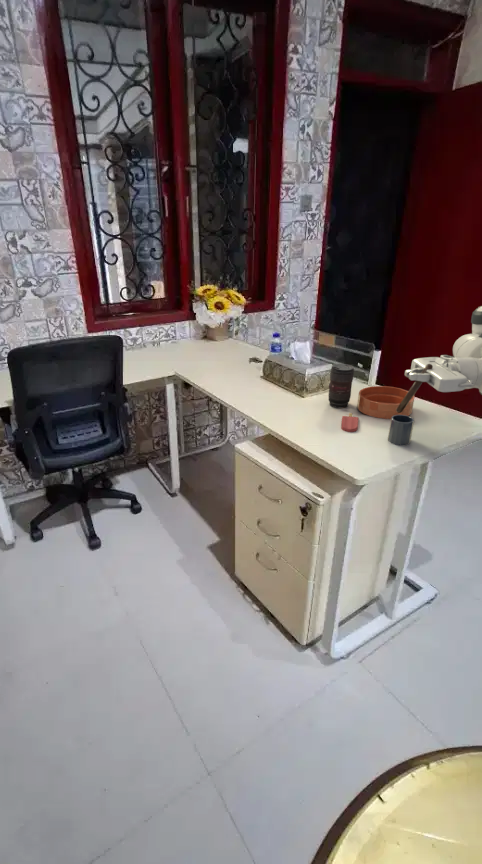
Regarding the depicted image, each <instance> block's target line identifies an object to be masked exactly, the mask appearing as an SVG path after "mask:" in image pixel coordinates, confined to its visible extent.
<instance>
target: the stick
mask: <svg viewBox="0 0 482 864" xmlns="http://www.w3.org/2000/svg"><path fill="white" fill-rule="evenodd" d="M432 368H433V366H432V365H431V364H427V365H426V366H425V368H424V369H423V371H422V372H421V374H424V373H428V372H426V371H427V370H429V369H432ZM422 384H423V382H422V381H417V380H414V382H413V384H412V385H411V387H410V388H409V389H408V390H407V391H408V393H407V394H406V396H405V397H404V398H403V400H402V401H401V403H400V404H399V406H398V407H397V409H396V411H397V412H398V413H401V412H402V411H403V410H404V408H405V407H406V406H407V404H408V403H409V401H410V400H411V398H412V397H413V395H414V396H415V394H416V393H417V391H418V390H419V388H420V387H421V385H422Z"/></svg>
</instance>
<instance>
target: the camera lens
mask: <svg viewBox="0 0 482 864" xmlns="http://www.w3.org/2000/svg"><path fill="white" fill-rule="evenodd" d="M354 374H355V369H354V366H353V365H351V364H347V363H334V364H332V365H331V369H330V374H329V383H328V388H329V389H328V402H329V403H328V404H329V406H330V407H333V408H336V409H343V408H347V407H348V406H349V403H350V401H351V396H352V388H353V387H352V386H353V380H354Z"/></svg>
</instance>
